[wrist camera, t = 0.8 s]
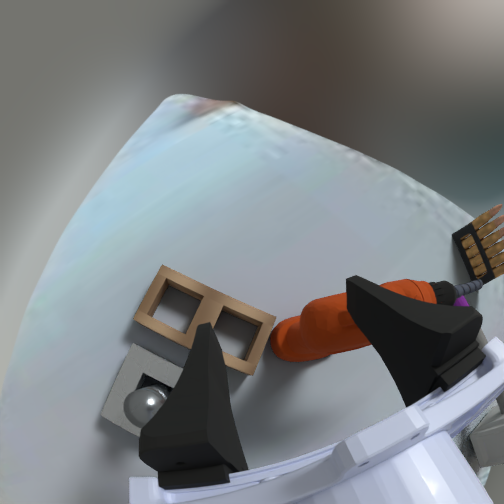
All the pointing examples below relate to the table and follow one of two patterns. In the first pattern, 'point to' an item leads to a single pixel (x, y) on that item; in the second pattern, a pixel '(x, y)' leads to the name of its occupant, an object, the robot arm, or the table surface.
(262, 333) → the rack
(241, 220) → the table surface
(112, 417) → the socket block
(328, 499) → the robot arm
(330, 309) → the toy drill
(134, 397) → the grey metal cylinder
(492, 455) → the hammer
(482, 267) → the ammunition clip
